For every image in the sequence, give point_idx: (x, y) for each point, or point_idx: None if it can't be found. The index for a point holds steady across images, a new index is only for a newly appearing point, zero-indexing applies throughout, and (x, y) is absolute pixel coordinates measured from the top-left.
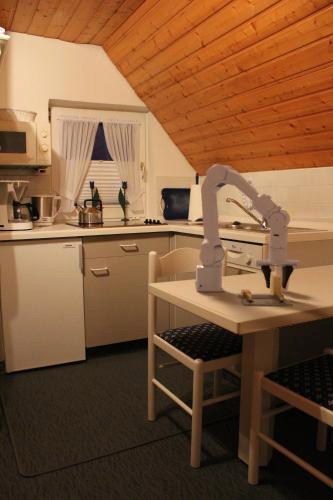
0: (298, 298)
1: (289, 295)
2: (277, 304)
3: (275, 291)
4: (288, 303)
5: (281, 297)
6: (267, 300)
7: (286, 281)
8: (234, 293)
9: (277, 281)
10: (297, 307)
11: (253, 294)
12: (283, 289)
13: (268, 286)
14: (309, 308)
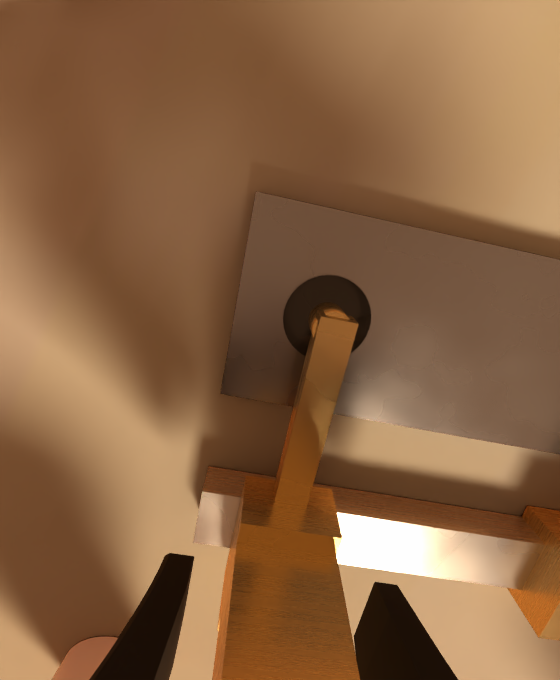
0: (52, 450)
1: (101, 550)
2: (427, 231)
3: (316, 520)
4: (290, 220)
5: (346, 321)
6: (455, 383)
7: (131, 654)
8: (544, 656)
9: (293, 676)
10: (222, 112)
11: (503, 554)
12: None
13: (408, 607)
14: (85, 26)
